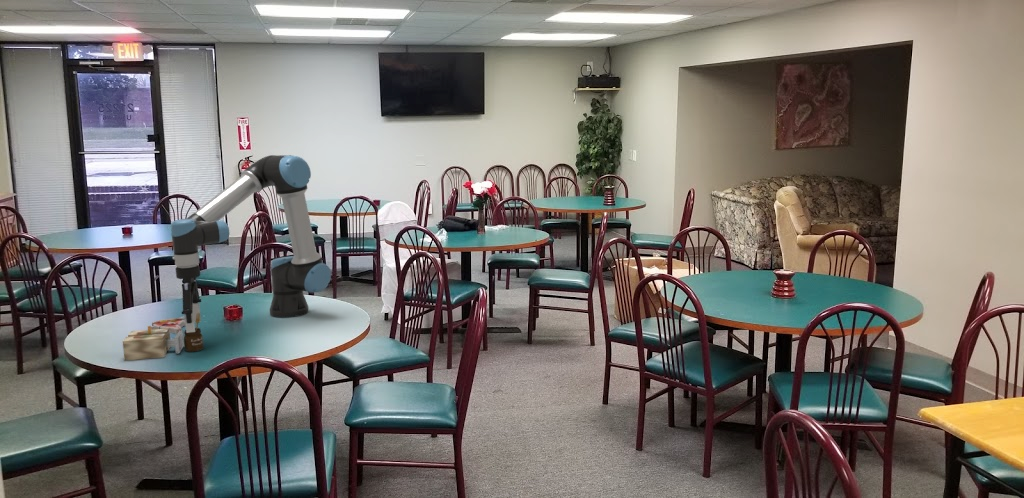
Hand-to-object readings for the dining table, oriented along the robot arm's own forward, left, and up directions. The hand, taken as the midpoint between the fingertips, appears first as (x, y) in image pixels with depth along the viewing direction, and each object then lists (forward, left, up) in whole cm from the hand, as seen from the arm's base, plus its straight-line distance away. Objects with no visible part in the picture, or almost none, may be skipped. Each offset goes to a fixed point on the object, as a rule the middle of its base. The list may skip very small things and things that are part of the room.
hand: (193, 326), depth 263 cm
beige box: (+15, 0, -8) cm, 17 cm away
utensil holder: (0, 0, -8) cm, 8 cm away
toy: (+12, -31, -9) cm, 34 cm away
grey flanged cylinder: (+11, 0, -8) cm, 14 cm away
